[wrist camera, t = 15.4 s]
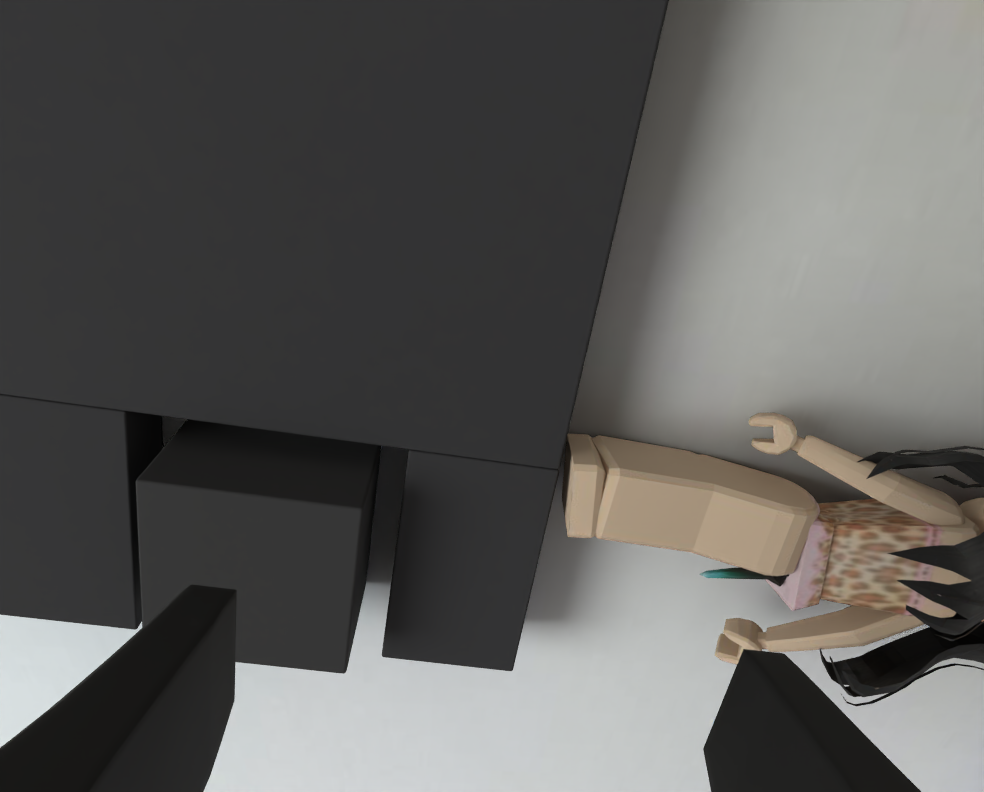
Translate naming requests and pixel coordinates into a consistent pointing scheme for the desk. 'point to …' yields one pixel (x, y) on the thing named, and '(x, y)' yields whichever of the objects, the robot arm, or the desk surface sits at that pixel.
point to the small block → (262, 536)
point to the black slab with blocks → (307, 270)
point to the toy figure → (806, 544)
